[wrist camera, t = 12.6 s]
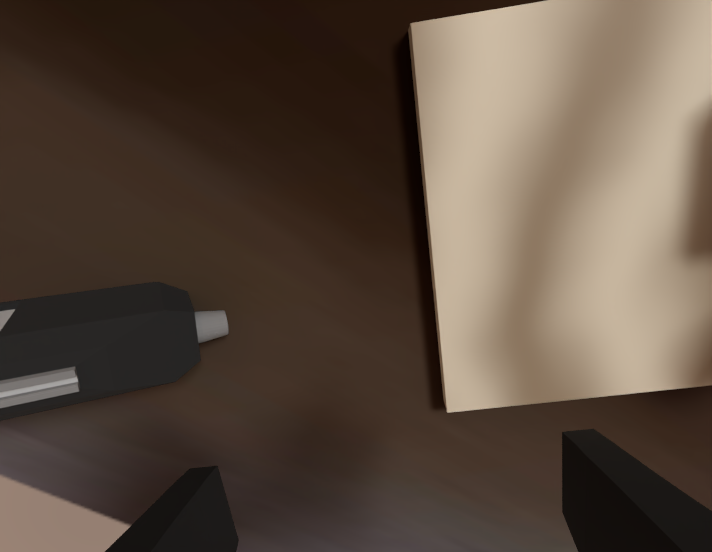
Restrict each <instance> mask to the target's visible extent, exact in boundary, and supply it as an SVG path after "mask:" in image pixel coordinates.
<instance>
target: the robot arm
mask: <svg viewBox="0 0 712 552" xmlns="http://www.w3.org/2000/svg"><path fill="white" fill-rule="evenodd" d="M562 507H563V515H564V517H565V520H566V522H567V525H568V527H569V530H570V532H571V535H572V537H573V540H574V542H575V545H576V547H577V549H578V552H712V511H711V510H709V509H708V508H706V507H705V506H703V505H702V504H700V503H699V502H697V501H696V500H694V499H693V498H691V497H690V496H688V495H687V494H685V493H684V492H682V491H681V490H680V489H678V488H677V487H675V486H674V485H672V484H671V483H669V482H668V481H667V480H665V479H664V478H662V477H661V476H659V475H658V474H657V473H655V472H654V471H652V470H651V469H649V468H648V467H647V466H645V465H644V464H642V463H641V462H640V461H638V460H637V459H635V458H634V457H633V456H631V455H630V454H628V453H627V452H626V451H624V450H623V449H621V448H620V447H619V446H617V445H616V444H614V443H613V442H612V441H610V440H609V439H607V438H606V437H604V436H603V435H602V434H600V433H599V432H597V431H596V430H594V429H588V430H578V431H567V432H562ZM237 545H238V536H237V533H236V529H235V526H234V522H233V519H232V515H231V512H230V508H229V505H228V501H227V498H226V494H225V491H224V487H223V484H222V481H221V477H220V474H219V470H218V467H217V466H212V467H202V468H192V469H189V470H188V471H187V472H186V473H185V474H184V475H183V476H181V477H180V478H179V479H178V480H177V481H176V482H175V483H174V484H173V485H172V486H171V487H170V488H169V489H168V490H167V491H166V492H165V493H164V494H163V495H162V496H161V497H160V498H159V499H158V500H157V501H156V502H155V503H154V504H153V505H152V506H151V507H150V508H149V509H148V510H147V511H146V512H145V513H144V514H143V515H142V516H141V517H140V518H139V519H138V520H137V521H136V522H135V523H134V524H133V525H132V526H131V527H130V528H129V529H128V530H127V531H126V532H125V533H124V534H123V535H122V536H121V537H119V539H117V540H116V542H114V543H113V544H112V545H111V546H110V547H109V548H108V549H107V550H106V551H105V552H236V550H237Z"/></svg>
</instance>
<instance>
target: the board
mask: <svg viewBox="0 0 712 552" xmlns="http://www.w3.org/2000/svg"><path fill="white" fill-rule="evenodd" d="M408 33H409V43H410V54H411V64H412V75H413V85H414V96H415V106H416V117H417V127H418V138H419V148H420V159H421V169H422V180H423V190H424V201H425V211H426V222H427V232H428V242H429V253H430V263H431V274H432V284H433V295H434V305H435V316H436V326H437V337H438V347H439V358H440V368H441V379H442V389H443V400H444V403H445V407H446V410H447V413H448V412H458V411H468V410H477V409H487V408H497V407H506V406H516V405H526V404H535V403H545V402H555V401H564V400H574V399H584V398H593V397H603V396H613V395H622V394H632V393H642V392H651V391H661V390H671V389H680V388H690V387H700V386H709V385H712V0H548V1H542V2H536V3H530V4H524V5H518V6H512V7H506V8H500V9H494V10H488V11H482V12H476V13H470V14H464V15H458V16H452V17H446V18H440V19H434V20H428V21H422V22H416V23H411V24H410V27H409V30H408Z"/></svg>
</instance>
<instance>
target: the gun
mask: <svg viewBox="0 0 712 552" xmlns="http://www.w3.org/2000/svg"><path fill="white" fill-rule="evenodd" d="M225 335H228V323H227V318H226V314H225V311H224V310H221V311H199V312H194V309H193V307H192V304H191V301H190V298H189V295H188V293H187V291H184V290H181V289H178V288H175V287H172V286H169V285H166V284H163V283H160V282H152V283H144V284H137V285H129V286H122V287H114V288H107V289H99V290H92V291H84V292H76V293H69V294H61V295H54V296H46V297H39V298H31V299H24V300H16V301H9V302H1V303H0V421H1V420H6V419H10V418H15V417H19V416H24V415H28V414H33V413H37V412H42V411H46V410H51V409H55V408H60V407H64V406H69V405H73V404H78V403H82V402H87V401H91V400H96V399H100V398H105V397H109V396H114V395H118V394H123V393H127V392H131V391H136V390H140V389H145V388H149V387H154V386H158V385H163V384H167V383H172V382H175V381H177V380H178V379H179V378H180V377H181V376H183V375H184V374H185V373H186V372H187V371H189V370H190V369H191V368H192V367H193V366H194V365H196V364H197V363H198V362H199V361H200V360H201V359H200V351H199V343H202V342H206V341H209V340H212V339H215V338H218V337H222V336H225Z"/></svg>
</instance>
